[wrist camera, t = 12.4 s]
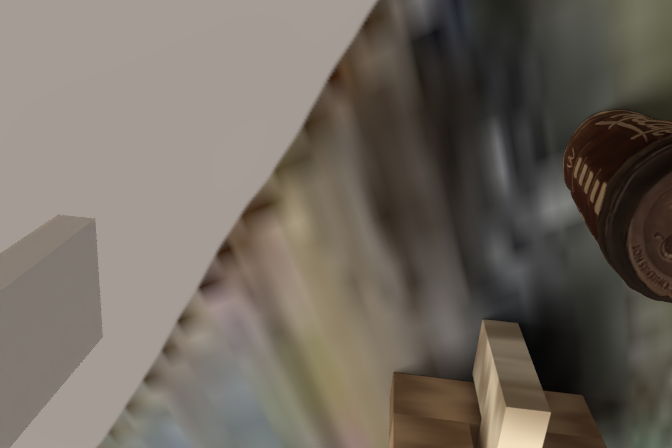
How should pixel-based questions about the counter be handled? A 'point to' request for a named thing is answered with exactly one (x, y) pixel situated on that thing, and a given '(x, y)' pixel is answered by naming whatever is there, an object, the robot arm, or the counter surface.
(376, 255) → the counter surface
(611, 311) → the counter surface
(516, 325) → the maple plate
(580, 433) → the walnut board
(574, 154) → the coffee cup
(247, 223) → the counter surface
